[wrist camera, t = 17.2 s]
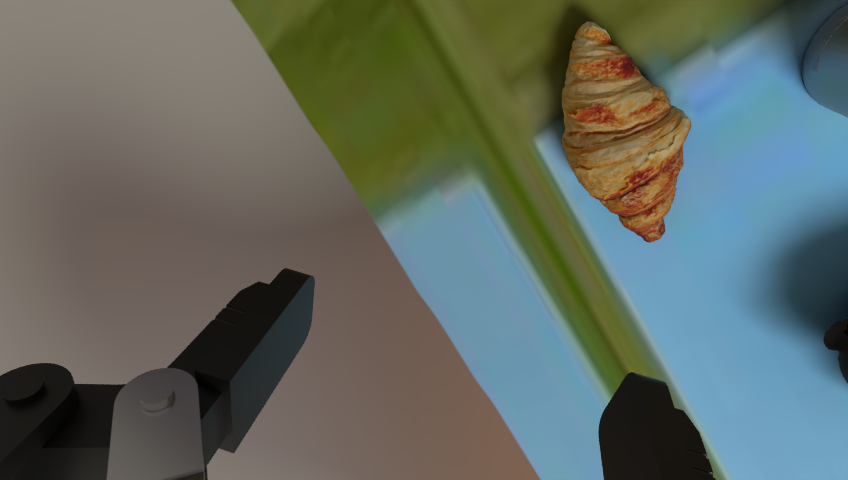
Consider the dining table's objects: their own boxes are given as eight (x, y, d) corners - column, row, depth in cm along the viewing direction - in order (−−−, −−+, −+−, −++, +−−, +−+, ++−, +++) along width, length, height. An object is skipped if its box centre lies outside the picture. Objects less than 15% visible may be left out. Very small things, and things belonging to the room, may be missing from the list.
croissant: (548, 34, 43) (506, 64, 38) (661, -17, 35) (625, 12, 31) (619, 222, 50) (590, 266, 45) (725, 213, 42) (703, 264, 38)
